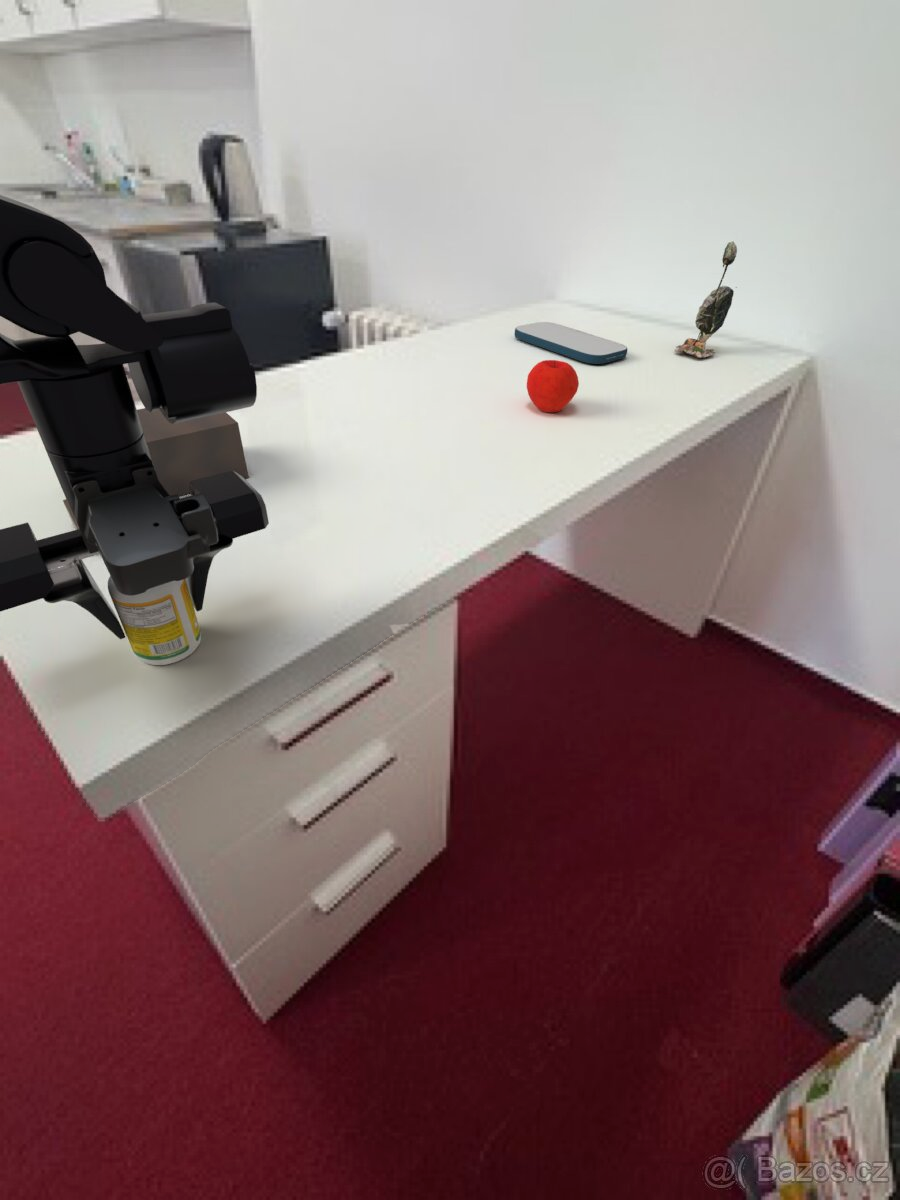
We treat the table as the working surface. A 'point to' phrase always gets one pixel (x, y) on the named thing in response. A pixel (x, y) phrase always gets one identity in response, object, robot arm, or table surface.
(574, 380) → the apple
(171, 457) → the step shelf
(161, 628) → the supplement bottle
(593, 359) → the external hard drive
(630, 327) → the table surface
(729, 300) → the plant with pod
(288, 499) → the table surface
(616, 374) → the table surface
